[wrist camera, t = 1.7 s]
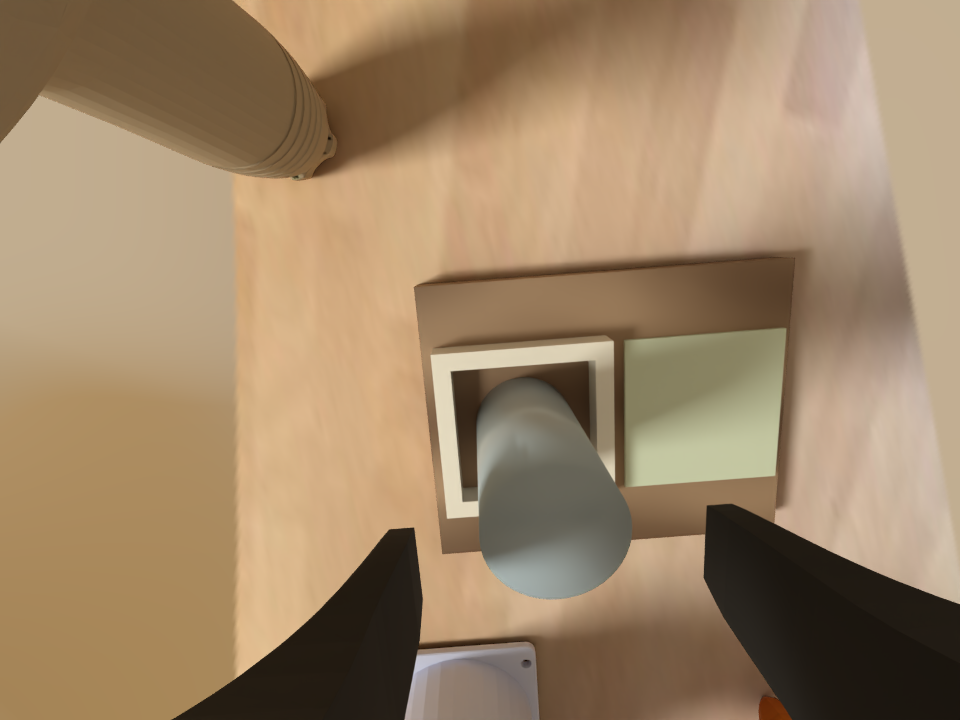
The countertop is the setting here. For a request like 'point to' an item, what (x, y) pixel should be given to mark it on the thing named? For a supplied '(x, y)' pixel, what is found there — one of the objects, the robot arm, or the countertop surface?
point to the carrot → (772, 709)
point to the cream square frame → (510, 355)
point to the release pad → (702, 406)
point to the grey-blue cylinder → (545, 495)
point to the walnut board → (581, 313)
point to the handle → (168, 79)
